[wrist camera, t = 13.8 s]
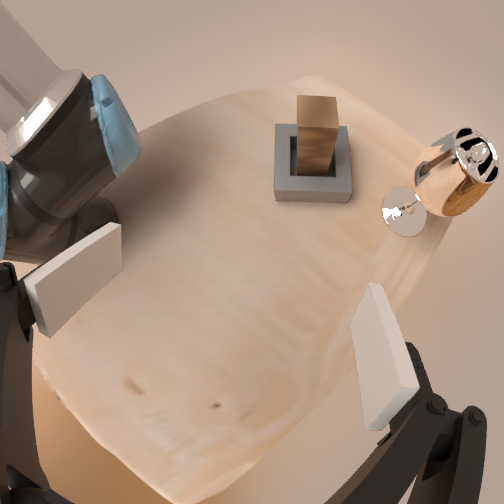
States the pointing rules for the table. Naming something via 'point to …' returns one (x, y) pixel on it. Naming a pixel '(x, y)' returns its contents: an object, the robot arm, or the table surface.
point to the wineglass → (443, 181)
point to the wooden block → (316, 134)
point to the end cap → (310, 187)
